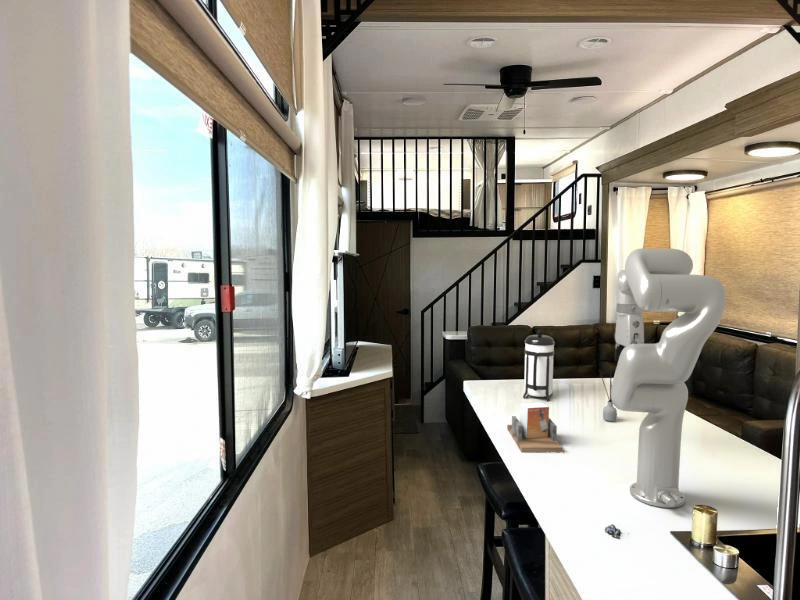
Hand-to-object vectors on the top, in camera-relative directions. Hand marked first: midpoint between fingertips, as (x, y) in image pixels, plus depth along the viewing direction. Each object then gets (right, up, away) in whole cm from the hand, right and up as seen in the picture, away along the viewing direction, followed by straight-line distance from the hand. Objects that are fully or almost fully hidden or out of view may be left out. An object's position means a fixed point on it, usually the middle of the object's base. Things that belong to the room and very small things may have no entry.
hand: (627, 364), depth 157 cm
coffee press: (-10, -23, +64) cm, 69 cm away
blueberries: (-23, -32, -45) cm, 60 cm away
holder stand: (-26, -27, +12) cm, 40 cm away
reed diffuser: (+8, -26, +34) cm, 43 cm away
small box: (-26, -26, +12) cm, 39 cm away
